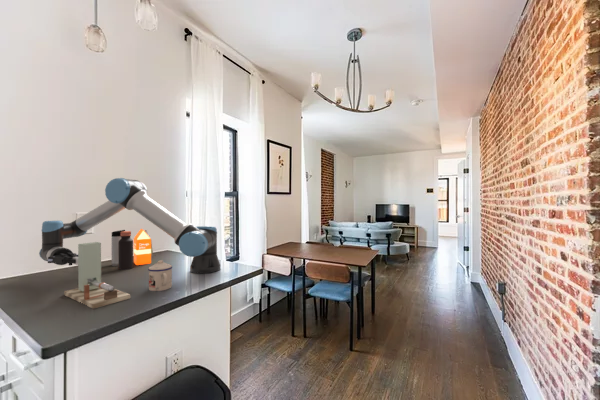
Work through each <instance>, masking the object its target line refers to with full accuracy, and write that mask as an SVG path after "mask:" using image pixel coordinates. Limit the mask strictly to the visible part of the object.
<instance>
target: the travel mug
mask: <svg viewBox="0 0 600 400" xmlns="http://www.w3.org/2000/svg"><path fill="white" fill-rule="evenodd" d="M123 231H126V230H125V229H121V230H116V231H112V232H111V266H112V267H119V250H118V242H119V240H120V239H121V233H120V232H123Z"/></svg>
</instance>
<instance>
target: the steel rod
mask: <svg viewBox="0 0 600 400" xmlns="http://www.w3.org/2000/svg"><path fill="white" fill-rule="evenodd" d="M88 284H91V285H93V286H96V287H99V288H100V289H104V290H107V291H109V292H112V291H113V290H114V289H115V286H113V285H111V284H107V283H106V282H103V281H101V282H99V281H97V280H94V279H92V278H91V279H88Z"/></svg>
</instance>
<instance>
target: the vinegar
mask: <svg viewBox="0 0 600 400" xmlns="http://www.w3.org/2000/svg"><path fill="white" fill-rule="evenodd" d="M120 233H121V239H120V240H119V242H118V250H119V266H118V270H120V271H121V270H122V271H123V270H124V271H126V270H130V269H133V268H134V239H132V238H131V237H132V231H131V230H125V231H123V232H120Z"/></svg>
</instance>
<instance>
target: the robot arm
mask: <svg viewBox="0 0 600 400" xmlns="http://www.w3.org/2000/svg"><path fill="white" fill-rule="evenodd" d="M104 191H105V192H104V193H105V198H106V199H107V200H108V201H105V202H104V203H102V204H100V205H98V206H97V207H95V208H94V209H92V210H89V211H88V212H87V213H85V214H83V215H81V216H80V217H78V218H77V219H75V220H73V221H71V222H67V223H64V221H63V220H46V221H43V222H42V224H41V225H42V226H41V243H42V244H41V249H40V250H39V253H38V255H39V257H40V259H42V260H43V261H44V262H47V264H54V265H56V266H57V265H58V266H63V265H67V264H68V266H73V265H77V266H78V253H76V252H75V253H74V252H73V251H72V250H71V249H69V248H67V247H64V239H71V238H79V237H82V236H85V235H86V234H87V232H88V231H89V230H91V229H93V228H94V227H96V226H97V225H99V224H101V223H103V222H105V221H106V220H108V219H110V218H111V217H113V216H114V215H117V214H119V213H120V212H121V211H123V210H125V209H127V210H128V211H132V210H134V211H135V212H137V214H139V215H141V216H142V217H144V218H145V219H146V220H148V222H150V223H152V224H153V225H154V226H156V227H157V228H159V229H160V230H162V231H163V232H164V233H166V234H167V235H168V236H170V237H172V238H173V239H174V244H175V245H177V246H178V247H179V251H180V252H181V253H182V254H183V255H185V256H186V257H191V258H192V261H191V263H190V266H189V267H190V268H189V272H190V273H193V274H209V273H210V274H211V273H215V272H218V271H220V270H221V263H220V260H219V257H218V242H217V241H218V231H217V227H216V226H209V225H207V226H206V225H202V226H198V225H197V226H195V225H194V224H193V223H187V224H186V223H185V221H183V220H181V219H180V218H178V217H177V216H176V215H174V214H173V213H172V212H170V211H169V210H167V209H166V208H165V207H164V206H162V205H160V204H159V203H157V202H156V201H155V200H154V199H152V198H151V197H149V196H148V188H147V186H146V184H144V182H143V181H140V180H138V179H137V180H136V179H129V178H123V177H116V178H113V179H111V180H110V181H109V182H108V183H107V184H106V186H105V189H104Z"/></svg>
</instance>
